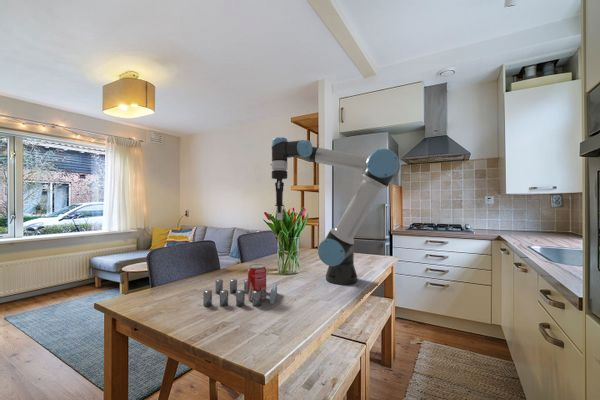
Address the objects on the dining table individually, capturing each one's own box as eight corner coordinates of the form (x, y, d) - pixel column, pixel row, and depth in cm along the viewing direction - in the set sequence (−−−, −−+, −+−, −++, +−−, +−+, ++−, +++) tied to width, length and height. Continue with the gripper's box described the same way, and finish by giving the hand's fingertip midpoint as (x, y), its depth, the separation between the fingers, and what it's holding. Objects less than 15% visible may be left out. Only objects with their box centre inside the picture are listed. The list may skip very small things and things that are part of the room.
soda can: (269, 297, 107) (269, 264, 107) (260, 303, 100) (260, 268, 100) (254, 294, 110) (254, 262, 110) (244, 300, 103) (244, 266, 103)
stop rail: (276, 293, 112) (276, 283, 112) (274, 304, 100) (274, 293, 100) (273, 293, 112) (273, 283, 112) (269, 304, 100) (270, 293, 100)
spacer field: (266, 291, 114) (266, 279, 114) (260, 306, 97) (260, 292, 97) (216, 291, 114) (216, 279, 114) (202, 306, 97) (202, 292, 97)
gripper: (273, 172, 136) (273, 218, 136) (270, 168, 123) (270, 220, 123) (288, 172, 136) (287, 218, 136) (286, 168, 123) (286, 220, 123)
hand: (279, 219), depth 129 cm, fingers closed
